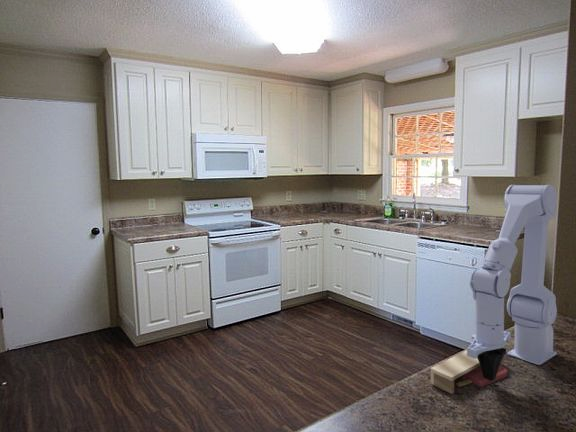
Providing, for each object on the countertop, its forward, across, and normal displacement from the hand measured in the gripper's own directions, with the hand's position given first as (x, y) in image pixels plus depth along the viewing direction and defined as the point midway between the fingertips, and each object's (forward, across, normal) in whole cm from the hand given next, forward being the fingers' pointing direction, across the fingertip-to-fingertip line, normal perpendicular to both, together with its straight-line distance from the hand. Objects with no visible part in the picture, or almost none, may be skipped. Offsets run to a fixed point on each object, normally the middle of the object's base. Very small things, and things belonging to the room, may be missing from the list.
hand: (489, 378), depth 94 cm
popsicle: (+2, 0, -2) cm, 3 cm away
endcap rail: (+1, 0, -5) cm, 5 cm away
